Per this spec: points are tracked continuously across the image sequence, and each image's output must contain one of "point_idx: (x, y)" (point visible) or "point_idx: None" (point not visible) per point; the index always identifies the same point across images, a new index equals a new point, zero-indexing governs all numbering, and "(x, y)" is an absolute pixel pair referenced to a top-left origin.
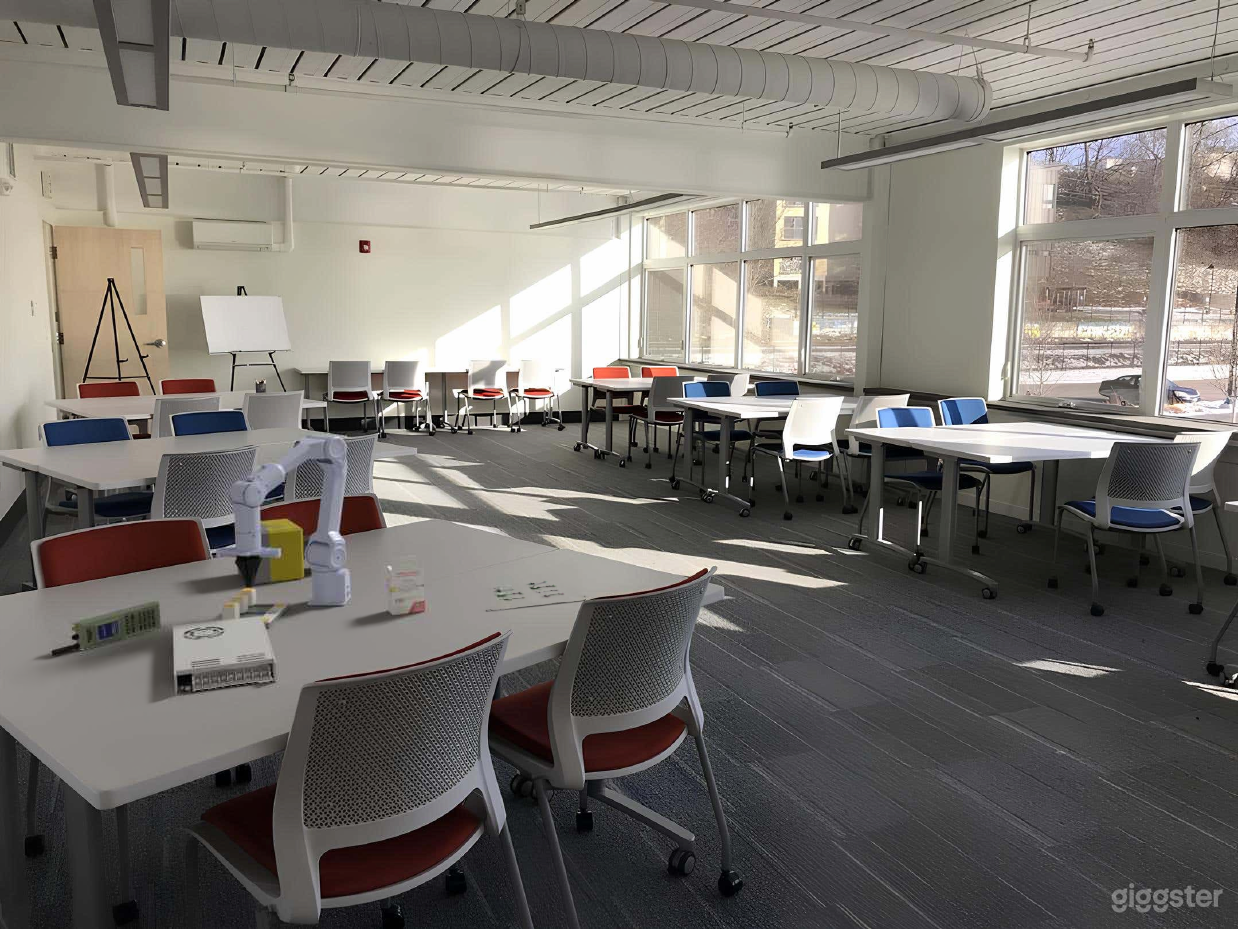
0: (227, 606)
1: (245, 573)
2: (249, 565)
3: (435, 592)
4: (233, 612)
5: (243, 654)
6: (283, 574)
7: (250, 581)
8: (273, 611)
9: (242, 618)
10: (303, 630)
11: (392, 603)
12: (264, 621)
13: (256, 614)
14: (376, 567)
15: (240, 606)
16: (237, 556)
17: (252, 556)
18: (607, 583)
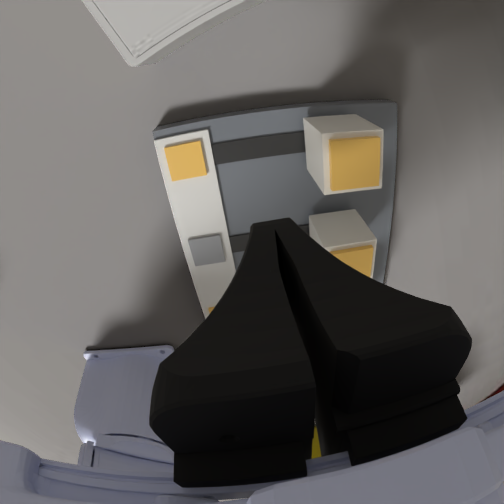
0: (358, 132)
1: (308, 273)
2: (259, 337)
3: (16, 404)
4: (320, 125)
5: None
6: (314, 438)
7: (256, 240)
8: (207, 254)
9: (210, 8)
10: (34, 142)
11: None
12: (178, 142)
13: None
14: None
15: (329, 227)
16: (455, 421)
17: (263, 475)
18: None
